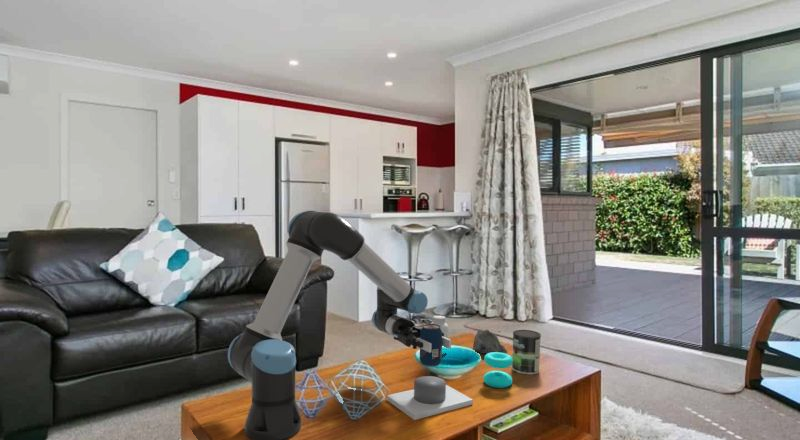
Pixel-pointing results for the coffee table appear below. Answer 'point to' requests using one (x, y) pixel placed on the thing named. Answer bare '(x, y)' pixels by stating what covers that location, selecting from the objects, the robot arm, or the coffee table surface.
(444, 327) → the pill bottle
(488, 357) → the donuts
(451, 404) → the plinth stand
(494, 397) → the coffee table surface
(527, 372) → the coffee can
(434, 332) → the soda can
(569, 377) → the coffee table surface
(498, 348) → the mineral rock
